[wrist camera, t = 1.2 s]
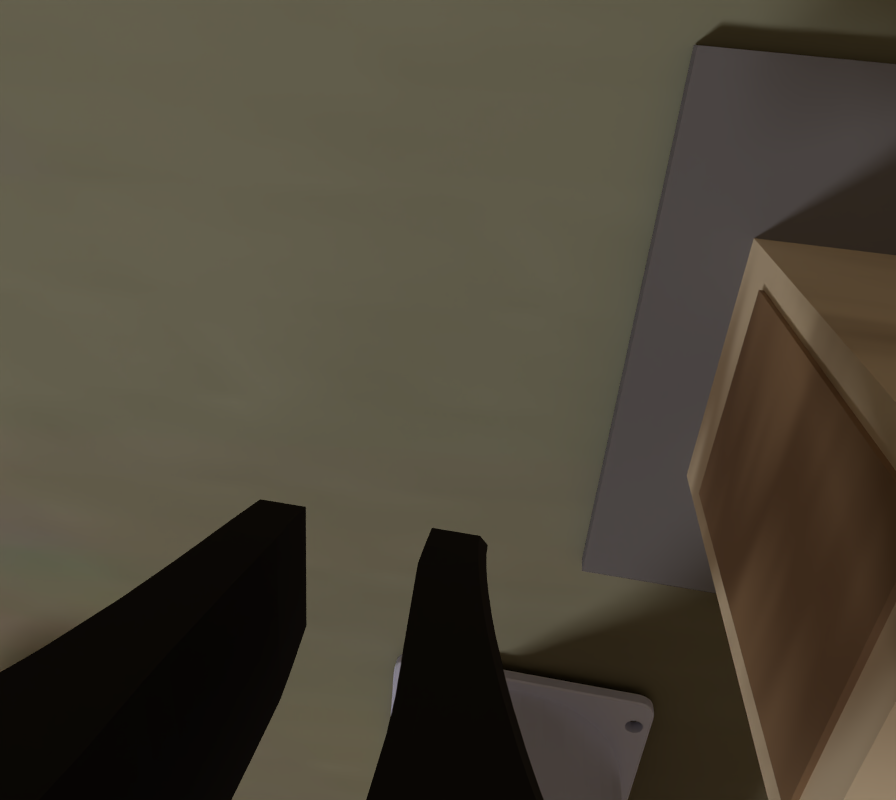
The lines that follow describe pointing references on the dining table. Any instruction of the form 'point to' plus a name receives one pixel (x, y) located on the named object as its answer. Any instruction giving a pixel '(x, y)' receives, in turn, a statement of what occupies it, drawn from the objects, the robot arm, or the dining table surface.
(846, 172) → the rubber mat
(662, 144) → the dining table surface
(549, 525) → the dining table surface
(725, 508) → the birch block
